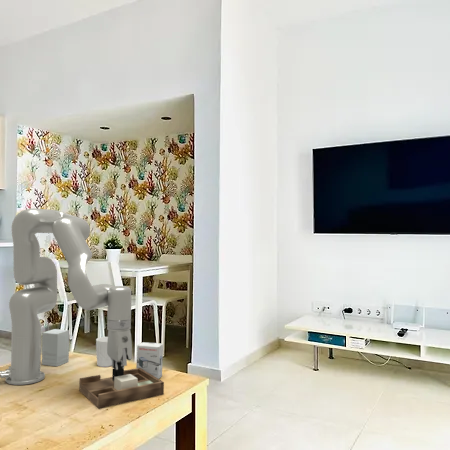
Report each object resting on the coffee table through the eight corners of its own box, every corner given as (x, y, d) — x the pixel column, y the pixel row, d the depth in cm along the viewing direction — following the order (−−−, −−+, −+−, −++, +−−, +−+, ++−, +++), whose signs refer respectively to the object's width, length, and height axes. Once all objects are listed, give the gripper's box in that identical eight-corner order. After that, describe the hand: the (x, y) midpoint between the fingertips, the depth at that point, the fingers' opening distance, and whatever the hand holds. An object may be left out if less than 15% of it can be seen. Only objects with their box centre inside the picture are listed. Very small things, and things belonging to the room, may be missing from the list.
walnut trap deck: (99, 408, 133) (99, 395, 133) (79, 390, 148) (79, 378, 148) (163, 394, 146) (163, 382, 146) (139, 379, 160) (139, 367, 160)
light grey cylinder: (97, 368, 171) (98, 342, 172) (93, 362, 178) (94, 337, 179) (118, 366, 175) (118, 340, 175) (113, 360, 182) (114, 335, 182)
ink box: (135, 378, 161) (136, 345, 161) (140, 374, 166) (140, 342, 166) (158, 380, 160) (159, 346, 160) (162, 375, 165) (163, 343, 165)
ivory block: (121, 393, 139) (121, 381, 140) (114, 387, 144) (114, 376, 144) (137, 389, 143) (137, 378, 143) (130, 384, 147) (130, 373, 147)
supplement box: (69, 361, 179) (70, 330, 179) (56, 367, 172) (57, 333, 172) (54, 359, 182) (54, 328, 182) (41, 364, 175) (41, 332, 175)
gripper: (139, 327, 143) (138, 385, 143) (120, 319, 155) (119, 372, 155) (117, 330, 139) (116, 389, 138) (99, 321, 151) (98, 376, 150)
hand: (117, 380), depth 147 cm, fingers closed
